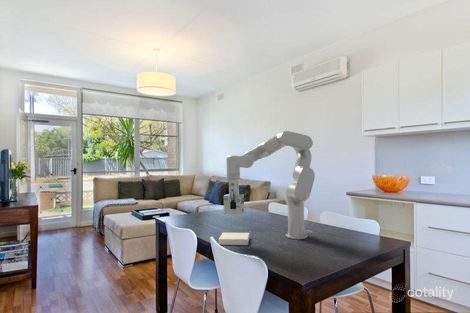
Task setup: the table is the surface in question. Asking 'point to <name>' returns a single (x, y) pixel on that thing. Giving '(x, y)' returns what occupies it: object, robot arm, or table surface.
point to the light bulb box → (239, 205)
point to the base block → (234, 239)
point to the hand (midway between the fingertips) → (234, 207)
